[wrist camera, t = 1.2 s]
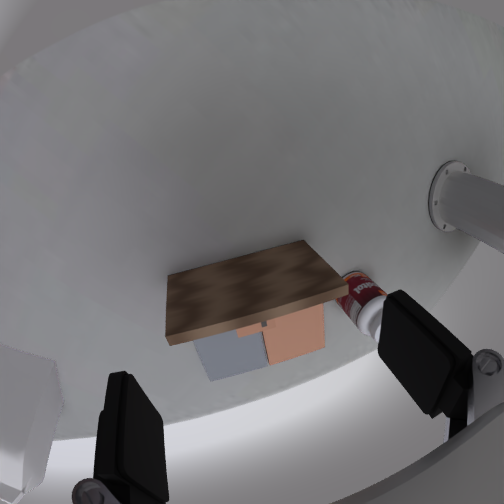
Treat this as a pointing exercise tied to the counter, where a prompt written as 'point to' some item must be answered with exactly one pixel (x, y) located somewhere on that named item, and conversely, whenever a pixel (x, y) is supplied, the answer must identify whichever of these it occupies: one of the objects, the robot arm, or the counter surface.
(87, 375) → the counter surface
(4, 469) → the milk
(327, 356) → the counter surface
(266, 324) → the terracotta cube
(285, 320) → the terracotta pad
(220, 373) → the slate pad
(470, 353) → the robot arm
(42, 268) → the counter surface
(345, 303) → the pill bottle
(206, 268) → the walnut wall
